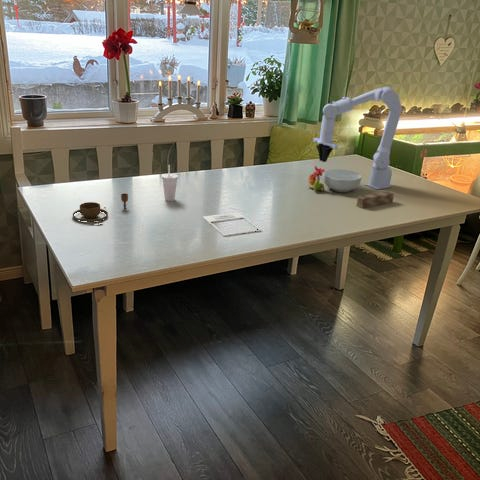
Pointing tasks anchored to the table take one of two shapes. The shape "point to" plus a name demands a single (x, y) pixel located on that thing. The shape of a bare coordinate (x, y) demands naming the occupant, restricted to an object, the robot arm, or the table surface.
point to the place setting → (95, 209)
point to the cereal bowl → (341, 180)
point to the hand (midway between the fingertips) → (323, 161)
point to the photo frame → (228, 217)
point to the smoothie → (169, 185)
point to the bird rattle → (316, 179)
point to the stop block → (375, 199)
